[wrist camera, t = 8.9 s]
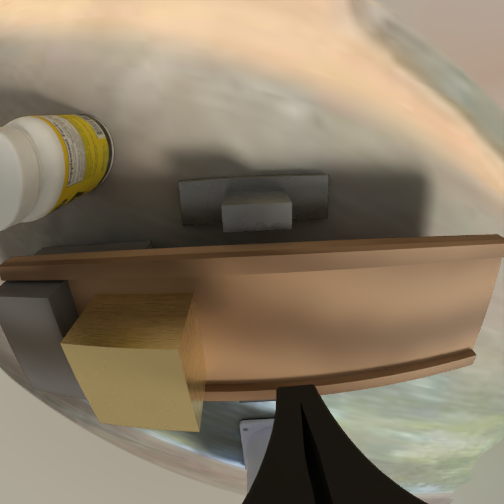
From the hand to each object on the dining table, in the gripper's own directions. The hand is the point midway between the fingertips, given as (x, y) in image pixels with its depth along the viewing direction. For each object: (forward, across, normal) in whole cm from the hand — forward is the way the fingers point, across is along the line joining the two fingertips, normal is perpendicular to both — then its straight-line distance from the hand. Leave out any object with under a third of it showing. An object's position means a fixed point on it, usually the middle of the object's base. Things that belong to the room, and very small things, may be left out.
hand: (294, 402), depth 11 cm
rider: (+5, +6, 0) cm, 8 cm away
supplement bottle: (+10, +11, -9) cm, 17 cm away
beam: (+9, +1, 0) cm, 9 cm away
